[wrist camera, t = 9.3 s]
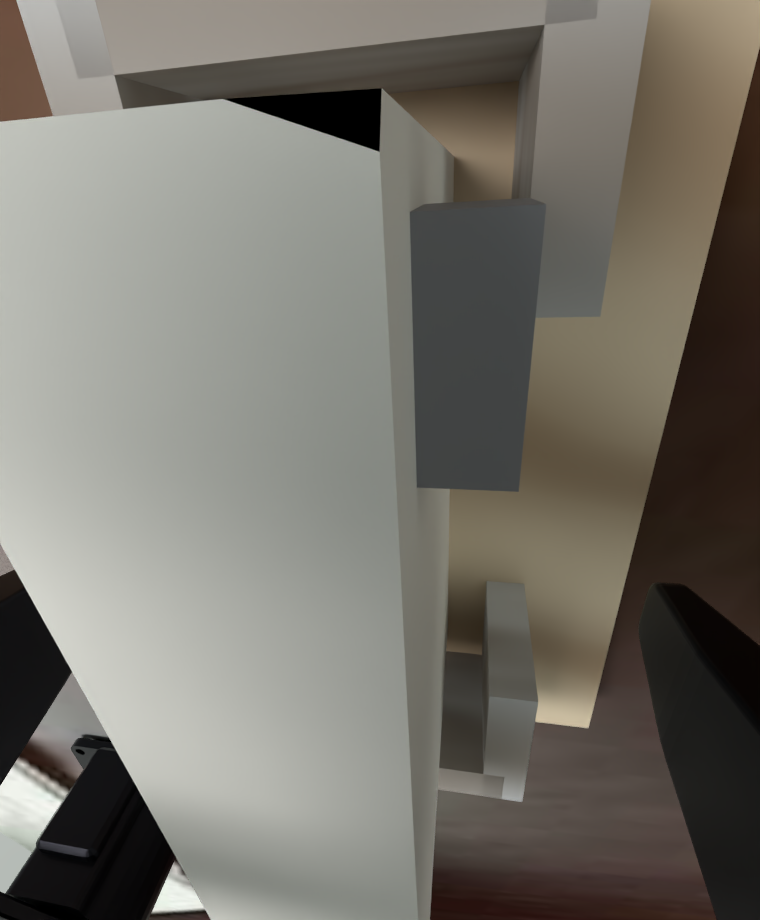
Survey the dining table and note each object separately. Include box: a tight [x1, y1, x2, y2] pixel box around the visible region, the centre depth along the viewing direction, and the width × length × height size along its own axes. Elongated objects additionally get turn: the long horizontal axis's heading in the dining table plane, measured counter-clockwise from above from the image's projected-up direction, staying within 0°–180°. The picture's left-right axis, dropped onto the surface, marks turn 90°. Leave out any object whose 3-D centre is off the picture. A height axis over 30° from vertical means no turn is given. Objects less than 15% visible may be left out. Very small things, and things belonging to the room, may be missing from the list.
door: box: [0, 88, 546, 920], centre depth 8 cm, size 12×4×8 cm, turn 4°
